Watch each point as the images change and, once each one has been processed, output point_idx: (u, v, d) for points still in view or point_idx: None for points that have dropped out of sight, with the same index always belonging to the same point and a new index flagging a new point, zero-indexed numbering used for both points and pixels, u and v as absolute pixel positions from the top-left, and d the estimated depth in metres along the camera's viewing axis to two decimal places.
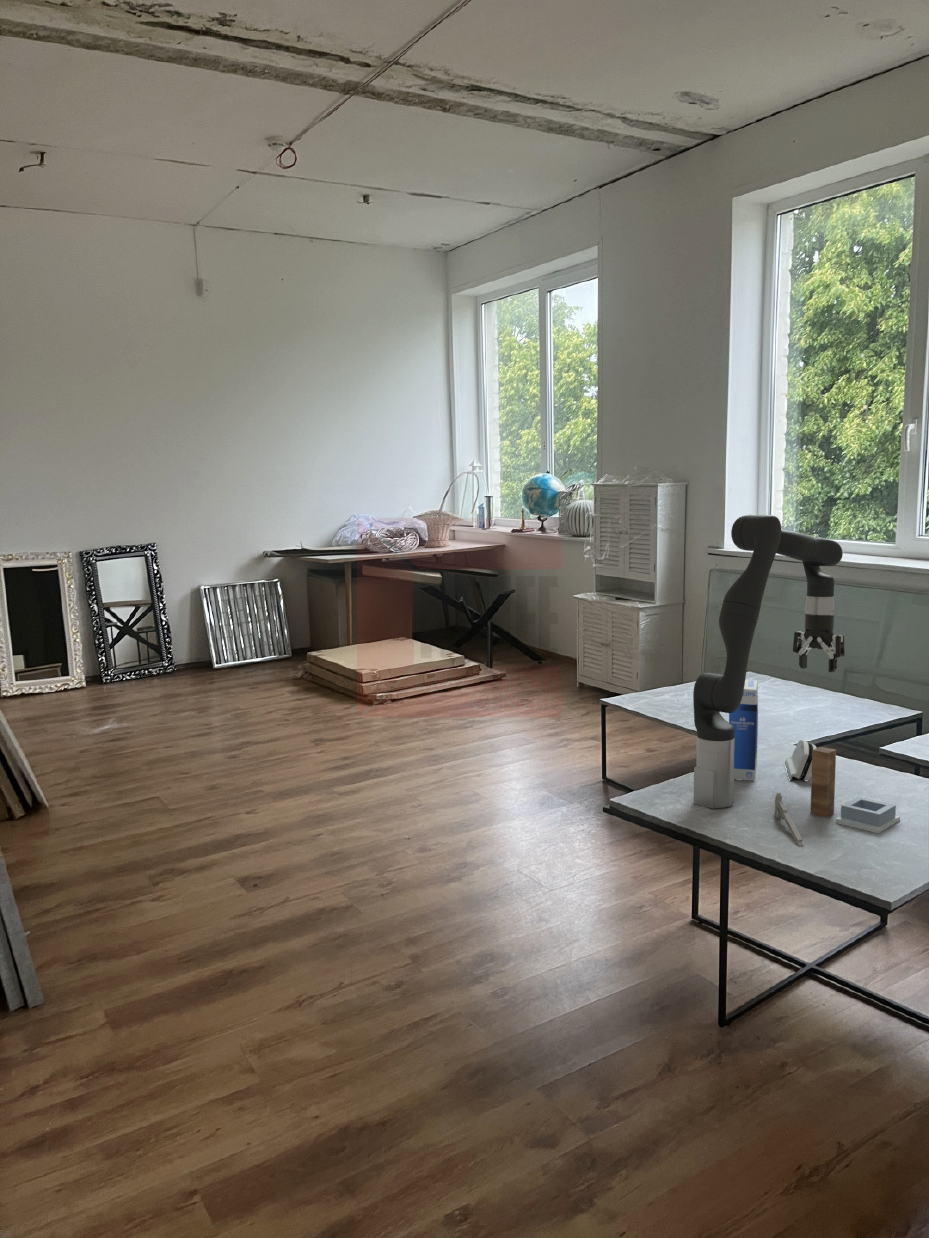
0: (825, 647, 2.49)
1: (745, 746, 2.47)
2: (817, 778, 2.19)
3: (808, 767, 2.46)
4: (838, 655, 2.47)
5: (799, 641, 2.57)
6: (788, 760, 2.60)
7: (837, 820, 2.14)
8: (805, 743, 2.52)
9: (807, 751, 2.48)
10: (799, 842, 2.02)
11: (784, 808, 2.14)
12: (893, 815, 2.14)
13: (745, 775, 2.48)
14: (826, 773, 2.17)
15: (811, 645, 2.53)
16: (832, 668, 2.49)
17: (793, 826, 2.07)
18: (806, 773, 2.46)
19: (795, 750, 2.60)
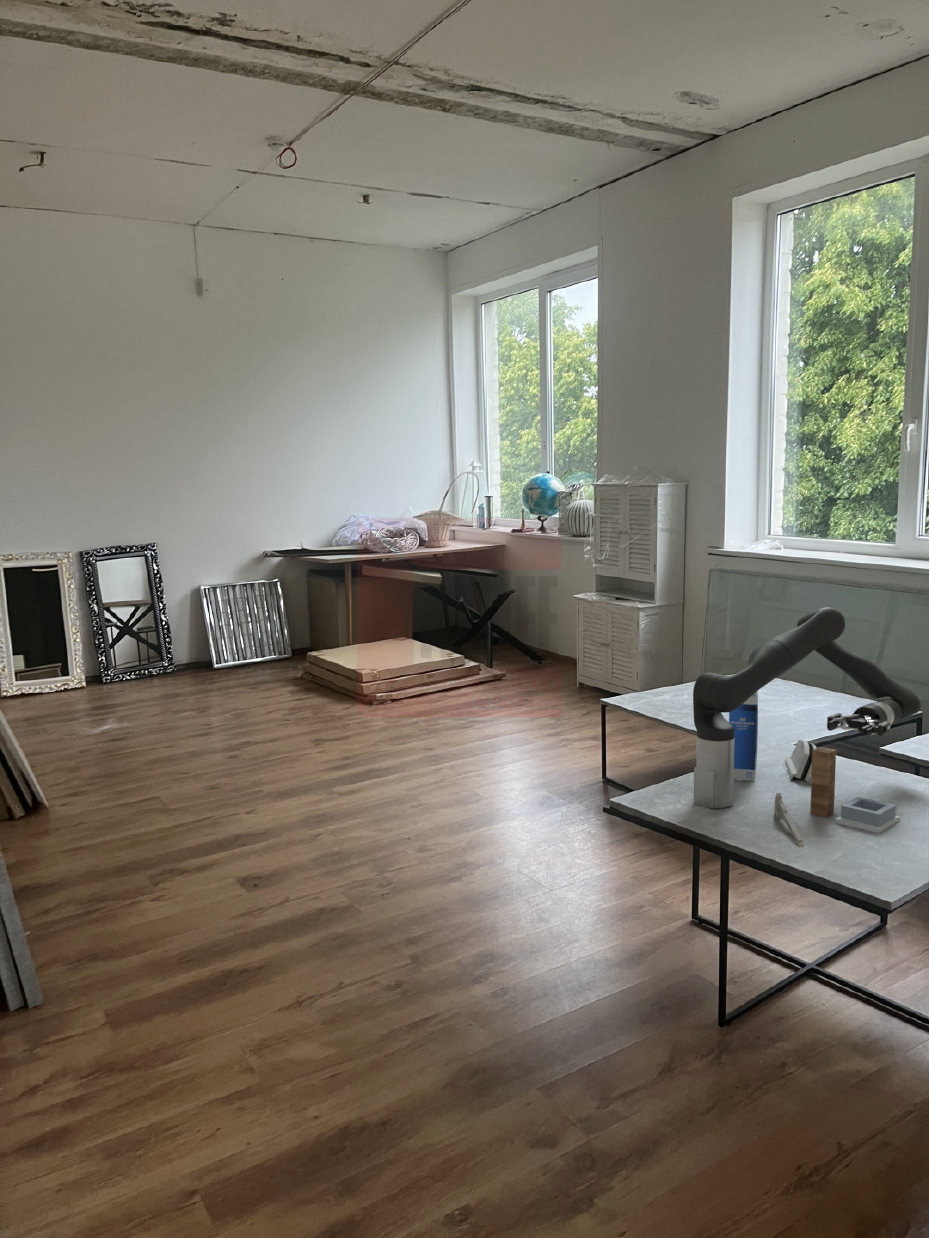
0: (870, 719, 2.28)
1: (745, 747, 2.47)
2: (817, 778, 2.19)
3: (809, 767, 2.46)
4: (881, 725, 2.25)
5: None
6: (788, 760, 2.60)
7: (837, 820, 2.14)
8: (805, 743, 2.52)
9: (808, 751, 2.48)
10: (799, 842, 2.01)
11: (784, 808, 2.14)
12: (893, 815, 2.14)
13: (745, 775, 2.48)
14: (826, 773, 2.17)
15: (852, 719, 2.32)
16: (867, 729, 2.23)
17: (793, 826, 2.07)
18: (807, 773, 2.46)
19: (795, 750, 2.60)
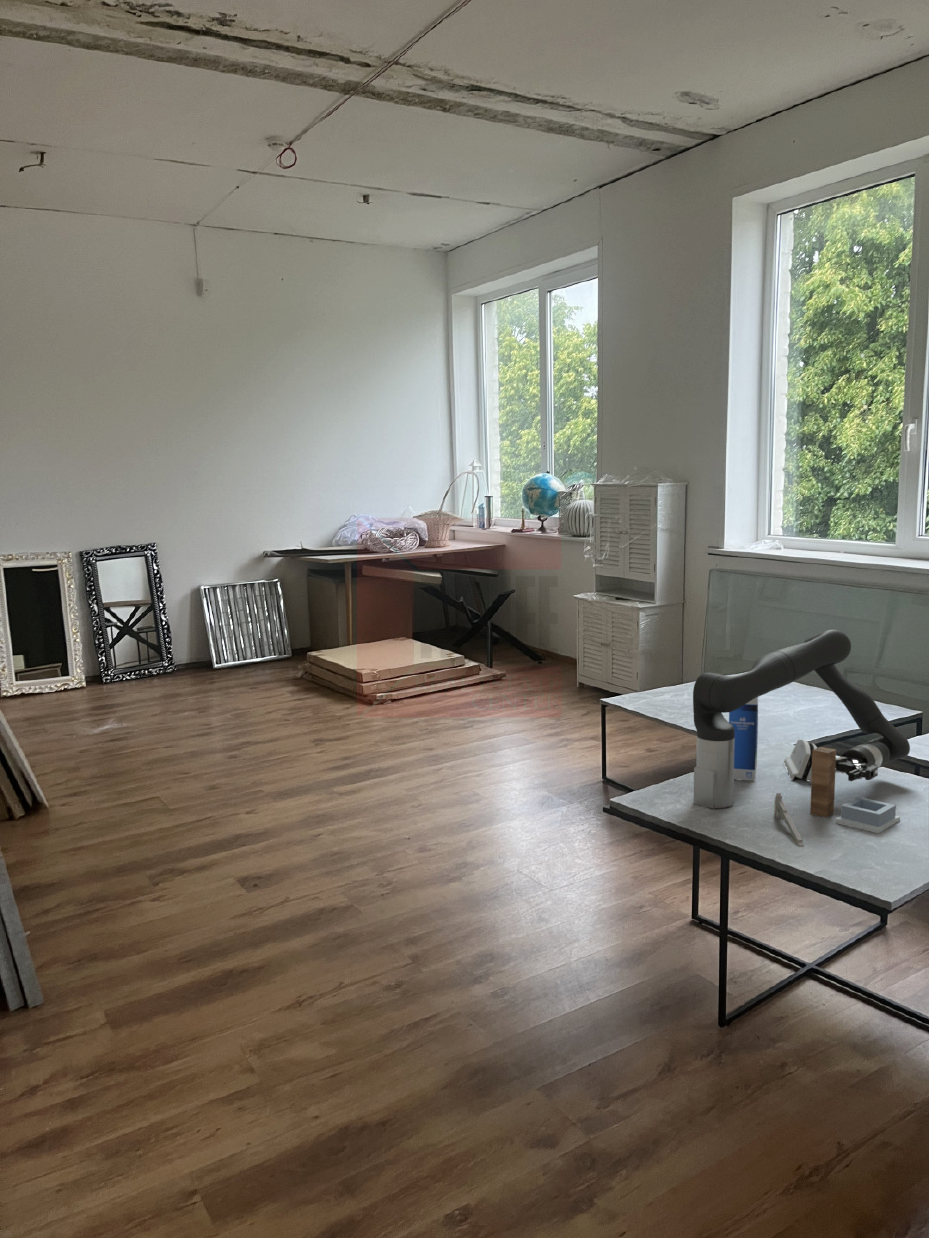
0: (857, 763, 2.26)
1: (745, 747, 2.47)
2: (817, 778, 2.19)
3: (810, 767, 2.47)
4: (869, 769, 2.22)
5: None
6: (787, 760, 2.60)
7: (837, 820, 2.14)
8: (806, 743, 2.53)
9: (809, 751, 2.48)
10: (799, 842, 2.01)
11: (784, 808, 2.14)
12: (893, 815, 2.14)
13: (745, 775, 2.48)
14: (826, 773, 2.17)
15: (839, 762, 2.29)
16: (854, 773, 2.21)
17: (793, 826, 2.07)
18: (808, 773, 2.47)
19: (794, 750, 2.60)
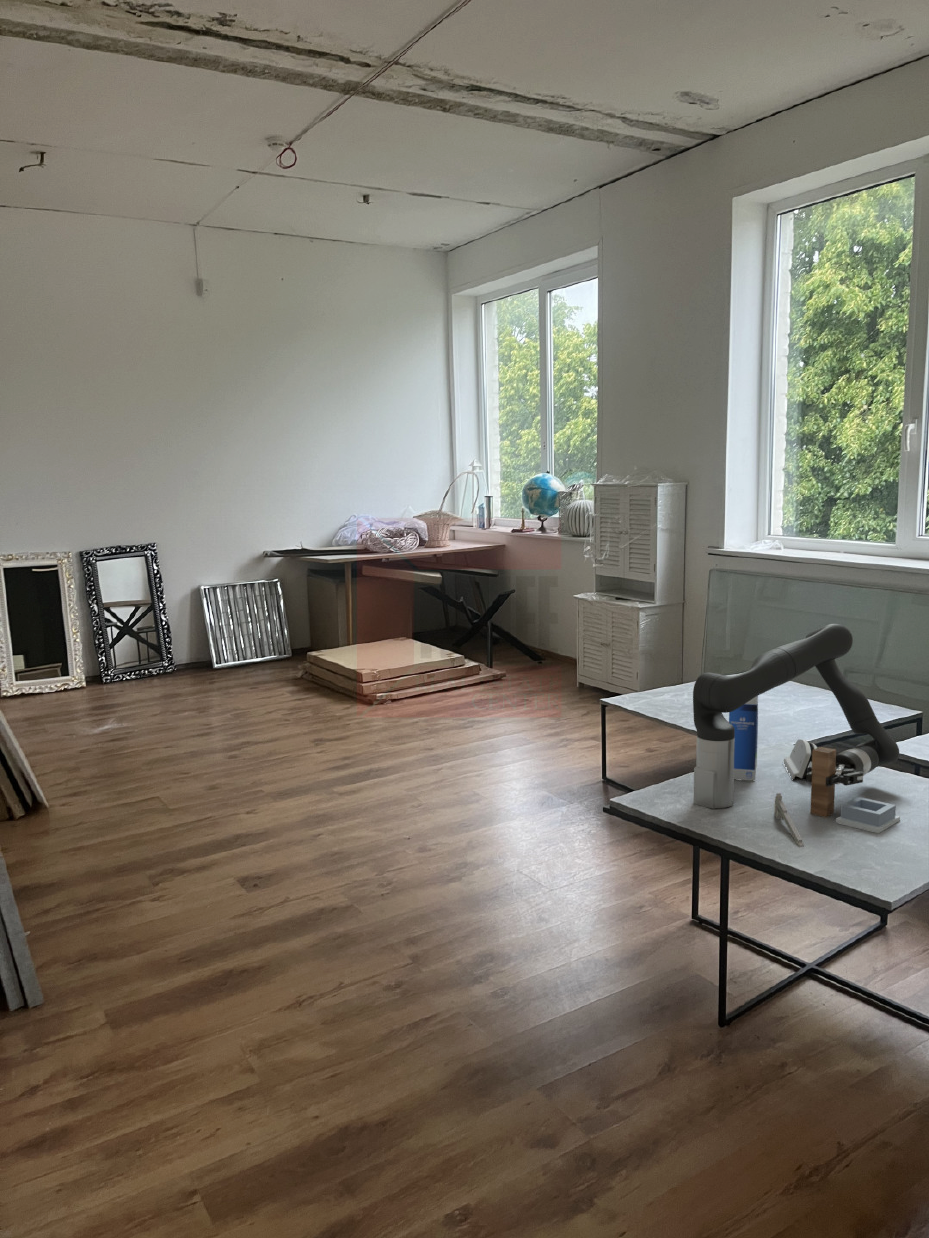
0: (840, 768, 2.21)
1: (745, 746, 2.47)
2: (817, 778, 2.19)
3: None
4: (846, 774, 2.18)
5: None
6: (787, 759, 2.61)
7: (837, 820, 2.14)
8: (806, 742, 2.53)
9: (809, 750, 2.48)
10: (799, 842, 2.01)
11: (784, 808, 2.14)
12: (893, 815, 2.14)
13: (745, 775, 2.48)
14: (826, 773, 2.17)
15: None
16: (831, 778, 2.17)
17: (793, 826, 2.07)
18: None
19: (794, 749, 2.60)
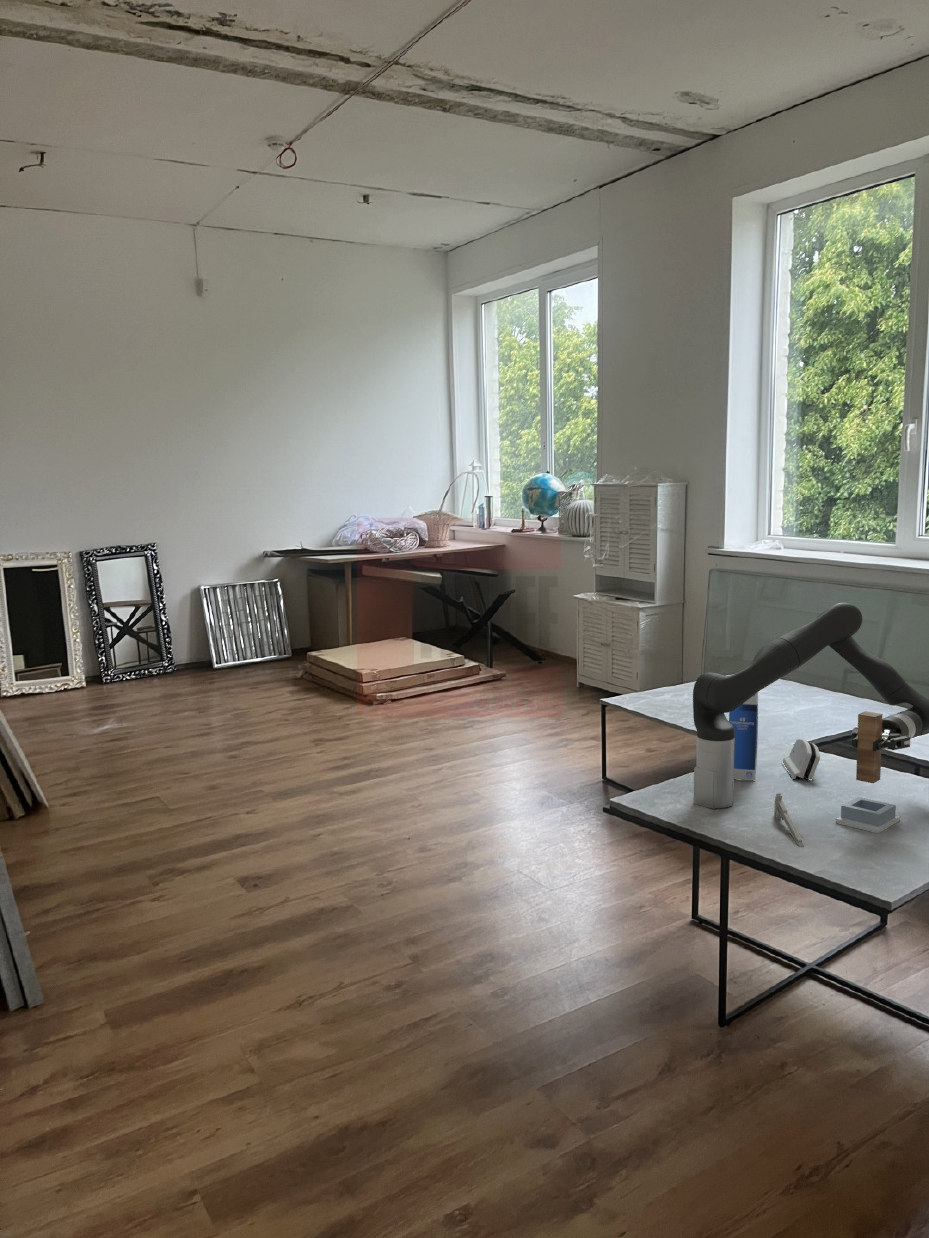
0: (886, 733, 2.15)
1: (745, 746, 2.47)
2: (864, 744, 2.12)
3: (811, 766, 2.47)
4: (894, 739, 2.11)
5: (857, 734, 2.20)
6: (786, 759, 2.61)
7: (837, 820, 2.14)
8: (806, 742, 2.53)
9: (810, 750, 2.48)
10: (799, 842, 2.01)
11: (784, 808, 2.14)
12: (893, 815, 2.14)
13: (745, 775, 2.48)
14: (873, 737, 2.11)
15: None
16: (879, 743, 2.10)
17: (793, 826, 2.07)
18: (809, 772, 2.47)
19: (793, 749, 2.61)
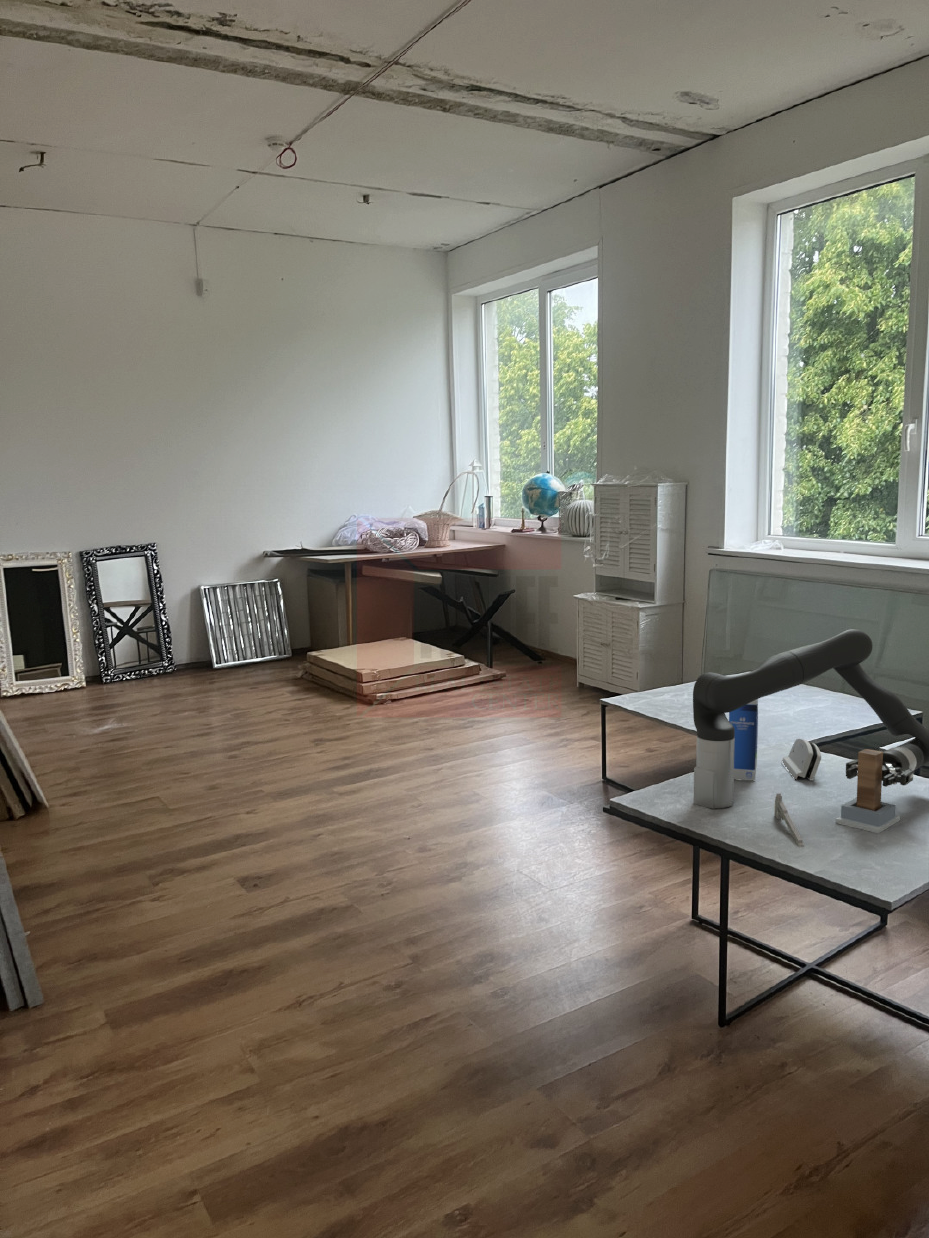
0: (892, 767, 2.15)
1: (745, 747, 2.47)
2: (864, 781, 2.13)
3: (813, 766, 2.47)
4: (904, 774, 2.11)
5: None
6: (786, 759, 2.61)
7: (837, 820, 2.14)
8: (806, 742, 2.54)
9: (811, 750, 2.49)
10: (800, 842, 2.01)
11: (784, 808, 2.14)
12: (893, 815, 2.14)
13: (745, 775, 2.48)
14: (872, 775, 2.11)
15: None
16: (889, 778, 2.10)
17: (794, 826, 2.07)
18: (811, 772, 2.47)
19: (793, 749, 2.61)
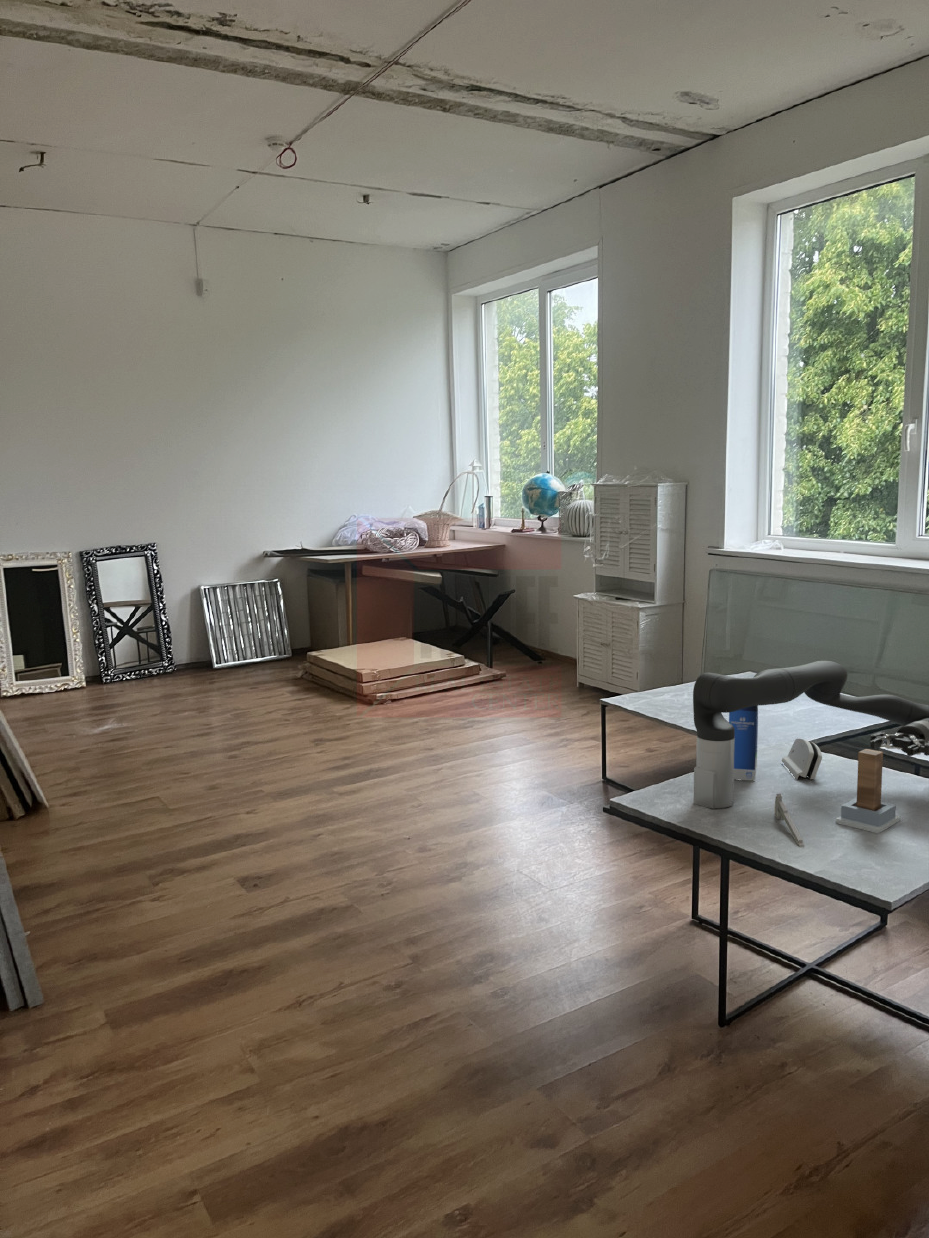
0: (915, 739, 2.22)
1: (745, 746, 2.47)
2: (864, 781, 2.13)
3: (814, 765, 2.48)
4: (928, 745, 2.18)
5: None
6: (786, 759, 2.61)
7: (837, 820, 2.14)
8: (806, 741, 2.54)
9: (812, 749, 2.49)
10: (800, 842, 2.01)
11: (784, 808, 2.14)
12: (893, 815, 2.14)
13: (745, 775, 2.48)
14: (872, 775, 2.11)
15: (896, 738, 2.26)
16: (913, 748, 2.17)
17: (794, 826, 2.07)
18: (812, 771, 2.48)
19: (792, 749, 2.61)
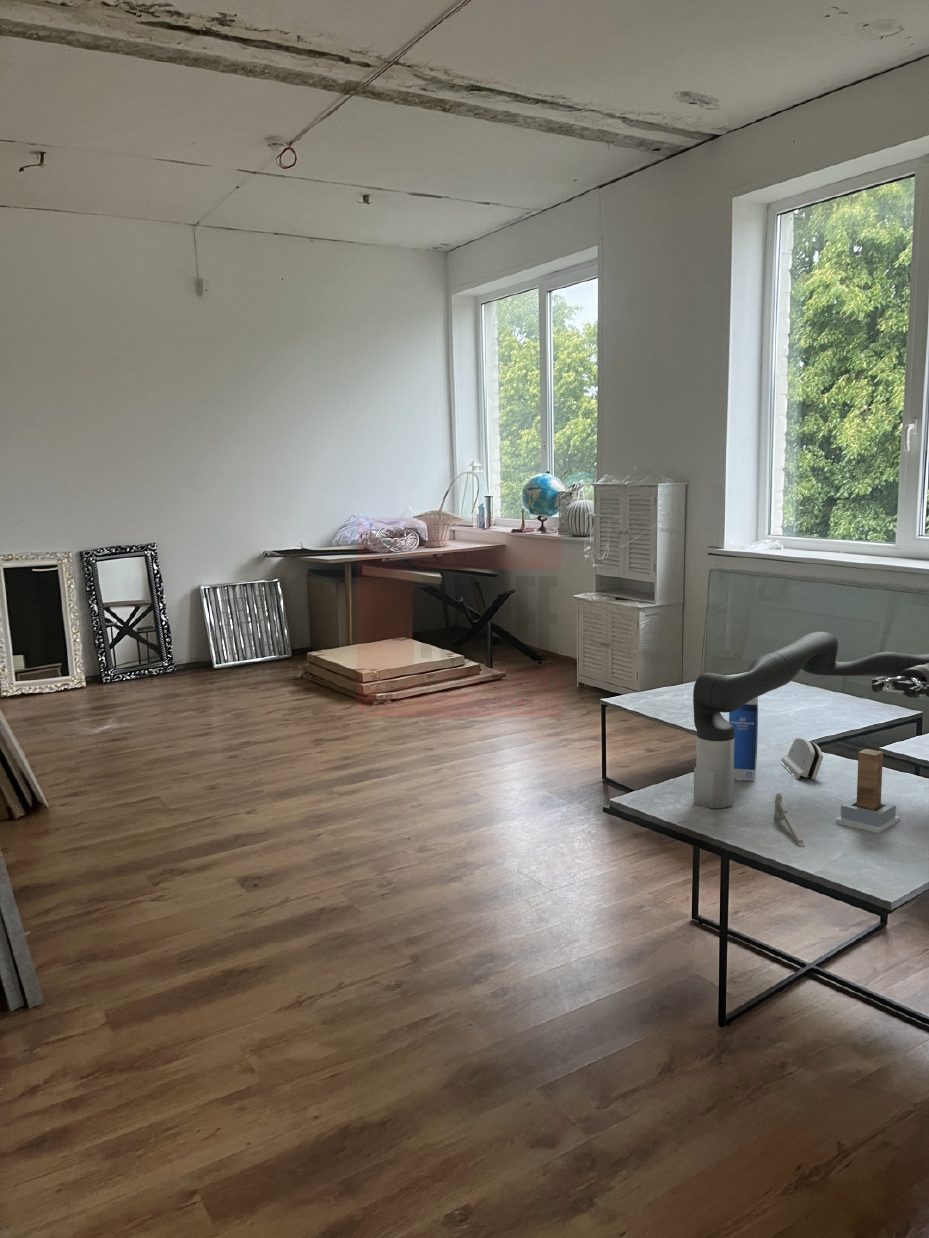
0: (917, 681, 2.21)
1: (745, 746, 2.47)
2: (864, 781, 2.13)
3: (815, 765, 2.48)
4: None
5: None
6: (786, 759, 2.61)
7: (837, 820, 2.14)
8: (807, 741, 2.54)
9: (812, 749, 2.49)
10: (800, 843, 2.01)
11: (784, 808, 2.14)
12: (893, 815, 2.14)
13: (745, 775, 2.48)
14: (872, 775, 2.11)
15: (898, 681, 2.24)
16: (915, 689, 2.16)
17: (794, 826, 2.07)
18: (813, 771, 2.48)
19: (792, 749, 2.61)
